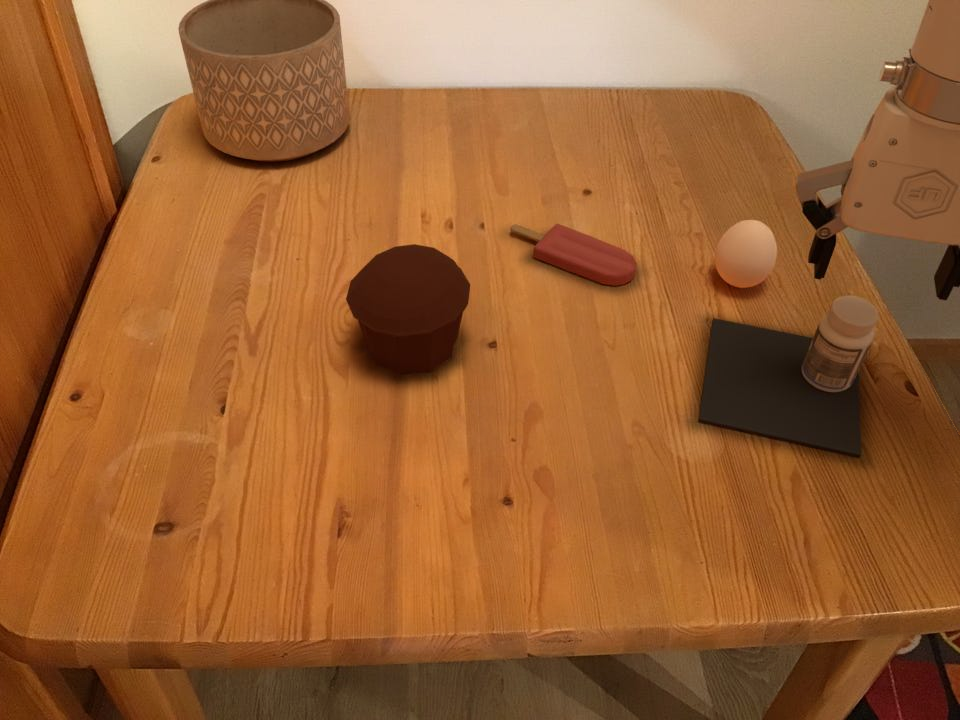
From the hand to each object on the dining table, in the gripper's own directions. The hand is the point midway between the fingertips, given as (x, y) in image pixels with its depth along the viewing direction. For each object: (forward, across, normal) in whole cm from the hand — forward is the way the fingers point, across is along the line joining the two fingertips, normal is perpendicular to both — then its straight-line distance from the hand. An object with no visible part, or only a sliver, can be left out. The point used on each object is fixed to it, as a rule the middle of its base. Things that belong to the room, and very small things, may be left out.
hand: (878, 279), depth 71 cm
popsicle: (+12, -28, +12) cm, 33 cm away
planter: (+11, -69, +26) cm, 75 cm away
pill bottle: (+12, -1, +1) cm, 13 cm away
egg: (+12, -10, +13) cm, 20 cm away
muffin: (+12, -40, -6) cm, 42 cm away
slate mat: (+13, -5, -1) cm, 14 cm away
